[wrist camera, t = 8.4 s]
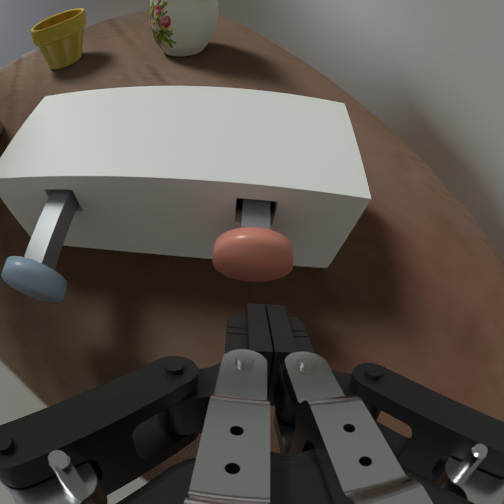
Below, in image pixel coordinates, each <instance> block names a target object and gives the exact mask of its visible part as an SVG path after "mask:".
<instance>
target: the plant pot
mask: <svg viewBox="0 0 504 504" xmlns="http://www.w3.org/2000/svg"><path fill="white" fill-rule="evenodd" d="M85 25H86V16H85V10H84V9H82V8H77V9H72V10H68V11H64V12H61V13H58V14H56V15H53V16H51V17H49V18H47V19H45V20H43V21H41V22H39V23H38V24H36V25H35V26H34V27H33V28H32V29H31V34H32V38H33V42H34V44H35V45H36V46H39V48H40V50H41V52H42V54H43V56H44V57H45V59H46V61H47V63H48V65H49V67H50V68H51V69H61V68H64V67H66V66H69V65H71V64H73V63H75V62H76V61H78V60H79V59H80V58H81V56H82V42H83V28H84V26H85Z"/></svg>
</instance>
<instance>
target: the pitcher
mask: <svg viewBox="0 0 504 504" xmlns="http://www.w3.org/2000/svg"><path fill="white" fill-rule="evenodd" d="M218 13H219V6H218V1H217V0H150V9H149V23H150V28H151V32H152V34H153V37H154V39H155V41H156V43H157V44H158V46H159V47H160V48H161V49H162V50H163V51H164V52H165V53H166V54H168V55H171V56H189V55H194V54H197V53H199V52H201V51H203V49H204V48H205V47H206V46H207V44H208V43H209V42H210V40H211V38H212V36H213V34H214V31H215V29H216V25H217V21H218Z"/></svg>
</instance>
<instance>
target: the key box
mask: <svg viewBox="0 0 504 504" xmlns="http://www.w3.org/2000/svg"><path fill="white" fill-rule="evenodd" d="M52 189H68V190H72V191H73V193H74V195H75V197H76V199H77V201H78V202H79V204H78V206H77V209H76V211H75V214H74V216H73V219H72V222H71V224H70V227H69V230H68V232H67V235H66V238H65V241H64V243H63V246H73V247H84V248H94V249H105V250H116V251H126V252H137V253H148V254H160V255H171V256H182V257H194V258H206V259H213V252H214V244H215V241H216V239H217V238H218V237H219V236H220V235H222V234H223V233H225V232H227V231H230V230H233V229H237V228H241V216H242V203H243V199H254V200H265V201H270V230H273V231H276V232H278V233H280V234H282V235H284V236H285V237H287V238H288V239H289V240H290V241H291V243H292V245H293V266H304V267H317V268H328V266H329V265H330V263H331V262H332V260H333V259H334V257H335V256H336V254H337V253H338V251H339V250H340V248H341V247H342V245H343V243H344V242H345V240H346V239H347V237H348V236H349V234H350V232H351V231H352V229H353V228H354V226H355V224H356V223H357V221H358V220H359V218H360V216H361V215H362V213H363V212H364V210H365V208H366V207H367V205H368V203H369V202H370V200H371V196H370V192H369V187H368V183H367V179H366V175H365V171H364V167H363V164H362V160H361V156H360V153H359V149H358V145H357V142H356V139H355V135H354V132H353V128H352V125H351V122H350V119H349V116H348V113H347V109H346V106H345V104H344V103H339V102H334V101H329V100H324V99H318V98H312V97H306V96H299V95H293V94H285V93H278V92H269V91H260V90H250V89H238V88H224V87H204V86H143V87H123V88H109V89H98V90H88V91H80V92H72V93H65V94H58V95H52V96H46V97H44V99H43V100H42V101H41V102H40V103H39V105H38V106H37V107H36V108H35V110H34V111H33V112H32V113H31V115H30V116H29V117H28V119H27V120H26V121H25V123H24V124H23V125H22V127H21V128H20V129H19V131H18V132H17V134H16V135H15V136H14V138H13V139H12V141H11V142H10V144H9V145H8V147H7V148H6V150H5V151H4V153H3V154H2V156H1V157H0V198H1V199H2V201H3V202H4V203H5V205H6V206H7V207H8V209H9V210H10V211H11V213H12V214H13V215H14V217H15V218H16V219H17V221H18V222H19V223H20V224H21V226H22V227H23V228H24V229H25V231H26V232H27V233H28V234H29V236H30V237H32V235H33V232H34V230H35V227H36V225H37V222H38V220H39V218H40V215H41V213H42V211H43V208H44V206H45V204H46V202H47V200H48V198H49V195H50V193H51V191H52Z"/></svg>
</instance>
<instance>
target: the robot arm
mask: <svg viewBox="0 0 504 504" xmlns="http://www.w3.org/2000/svg"><path fill="white" fill-rule="evenodd" d="M2 130H3V125H2V123H1V121H0V135H1V133H2ZM270 406H275V415H274V421H273V422H274V427H275V431H276V435H277V439H278V443H279V448H280V452H281V454H279V453H274V452H270ZM381 410H382V411H383V412H385V413H387V414H389V415H391V416H393V417H395V418H396V419H398V420H400V421H402V422H404V423H406V424H408V425H409V426H410V427H411V429H412V437H411V438H407V437H404V436H402V435H400V434H399V433H397V432H395V431H393V430H391V429H389V428H388V427H386V426H384V425H382V424H380V423H379V422H377V421H376V420H377V418H378V416H379V414H380V412H381ZM156 414H157V415H156ZM149 418H150V419H149ZM199 433H202V435H201V440H200V444H199V448H198V453H197V457H196V458H192V459H189V460H186V461H183V462H181V463H178V464H176V465H174V466H172V467H170V468H169V469H167V470H165V471H164V472H163V473H161V474H160V475H158V476H157V477H155V478H154V479H153V480H151V481H150V482H148V483H147V484H145V485H144V486H142V487H141V488H140V489H138V490H137V491H135V492H134V493H132V494H130V495H129V496H127V497H126V498H124V499H123V500H121V501H120V502H118V503H116V504H502V502H503V499H504V422H502V421H500V420H497V419H495V418H493V417H490V416H488V415H486V414H483V413H481V412H479V411H476V410H474V409H472V408H470V407H467V406H465V405H463V404H461V403H459V402H456V401H454V400H452V399H450V398H448V397H445V396H443V395H441V394H439V393H437V392H435V391H433V390H430V389H428V388H426V387H424V386H422V385H420V384H418V383H416V382H414V381H411V380H409V379H407V378H405V377H403V376H401V375H399V374H397V373H395V372H393V371H391V370H389V369H387V368H385V367H383V366H380V365H377V364H372V363H363V364H359V365H357V366H356V367H355V368H354V369H353V372H352V374H347V373H341V372H336V371H333V370H331V369H330V367H329V365H328V364H327V362H326V360H325V359H324V358H322V357H321V356H319V355H317V354H315V353H314V350H313V348H312V345H311V342H310V340H309V338H308V334H307V332H306V329H305V327H304V324H303V323H302V322H301V321H300V320H299V319H297V318H296V317H287V314H286V310H285V307H284V305H272V304H266V305H265V304H255V303H247V304H246V313H245V315H243V314H232V315H231V316H230V317H229V318H228V319H227V331H226V344H225V355H224V356H223V358H222V361H221V362H220V363H219V364H217V365H215V366H212V367H209V368H202V369H198V368H197V366H196V364H195V363H194V362H193V361H191V360H189V359H187V358H184V357H179V356H168V357H163V358H160V359H158V360H156V361H154V362H152V363H149V364H147V365H145V366H143V367H141V368H139V369H136V370H134V371H132V372H130V373H128V374H125V375H123V376H121V377H119V378H117V379H114V380H112V381H110V382H107V383H105V384H103V385H101V386H98V387H96V388H94V389H91V390H89V391H87V392H84V393H82V394H80V395H77V396H75V397H72V398H70V399H68V400H65V401H63V402H60V403H58V404H55V405H53V406H50V407H48V408H45V409H43V410H40V411H38V412H35V413H32V414H30V415H27V416H25V417H22V418H19V419H17V420H14V421H11V422H8V423H6V424H3V425H0V482H1V483H2V484H3V485H4V486H5V488H6V489H7V490H8V491H9V492H10V494H11V495H12V496H13V498H14V500H15V502H16V504H107V495H109V494H110V493H112V492H114V491H116V490H117V489H119V488H121V487H123V486H124V485H126V484H128V483H129V482H131V481H133V480H135V479H136V478H138V477H140V476H141V475H143V474H144V473H146V472H148V471H149V470H151V469H152V468H154V467H156V466H157V465H159V464H160V463H162V462H163V461H165V460H166V459H168V458H169V457H171V456H172V455H174V454H175V453H177V452H178V451H180V450H181V449H183V448H184V447H186V446H187V445H188V444H190V443H191V442H193V441H194V440H195V439H196V438H197V436H198V434H199Z"/></svg>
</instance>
